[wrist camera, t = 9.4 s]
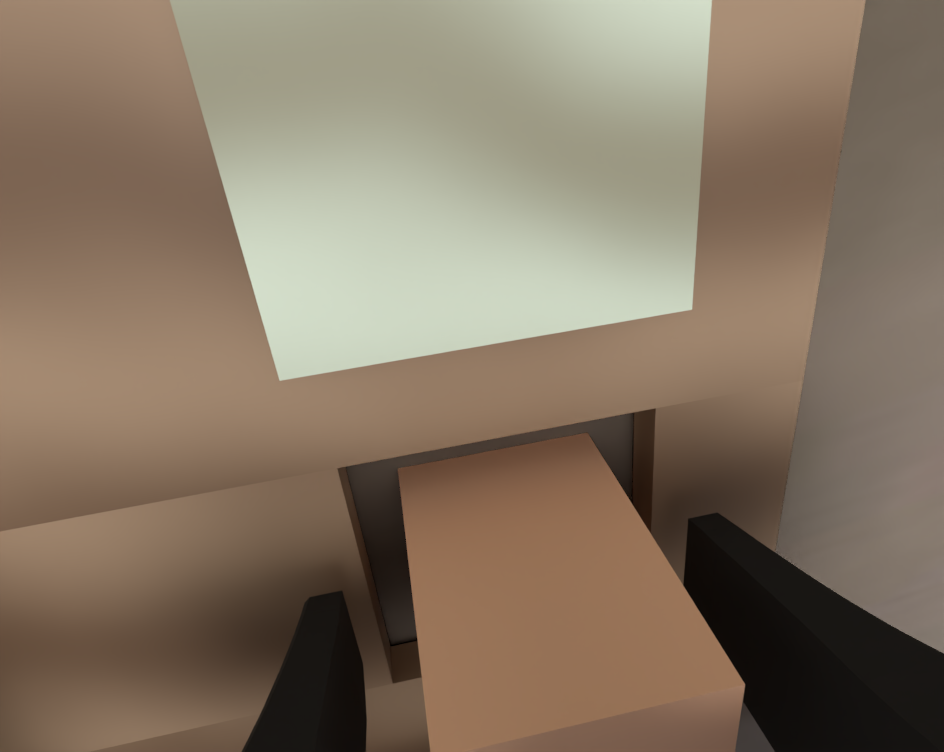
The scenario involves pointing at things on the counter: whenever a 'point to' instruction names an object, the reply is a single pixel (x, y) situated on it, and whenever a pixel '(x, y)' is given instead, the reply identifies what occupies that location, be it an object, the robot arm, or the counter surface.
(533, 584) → the block
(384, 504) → the counter surface
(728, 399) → the board
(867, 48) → the counter surface
